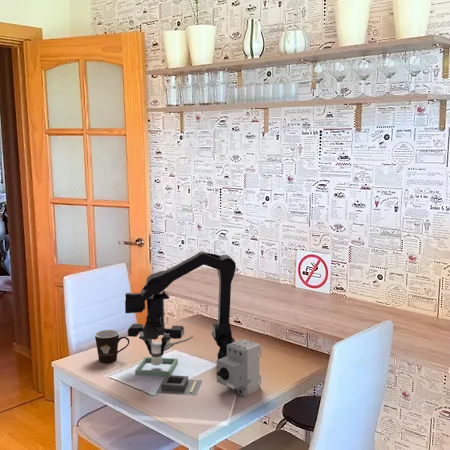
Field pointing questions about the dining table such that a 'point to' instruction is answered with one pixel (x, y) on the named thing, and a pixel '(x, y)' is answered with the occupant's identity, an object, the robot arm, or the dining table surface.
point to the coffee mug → (108, 345)
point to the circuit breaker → (240, 367)
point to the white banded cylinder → (156, 353)
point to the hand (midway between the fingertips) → (156, 354)
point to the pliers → (175, 343)
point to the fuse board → (179, 385)
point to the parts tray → (156, 373)
